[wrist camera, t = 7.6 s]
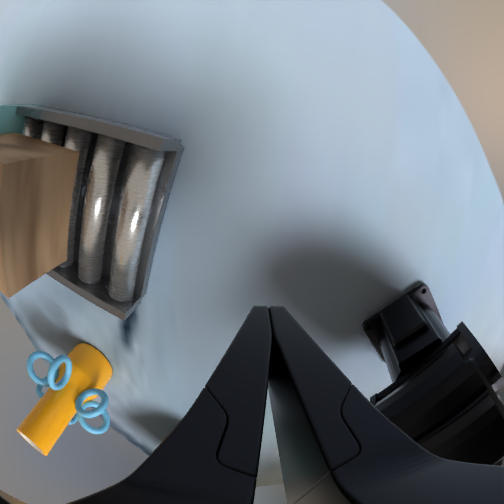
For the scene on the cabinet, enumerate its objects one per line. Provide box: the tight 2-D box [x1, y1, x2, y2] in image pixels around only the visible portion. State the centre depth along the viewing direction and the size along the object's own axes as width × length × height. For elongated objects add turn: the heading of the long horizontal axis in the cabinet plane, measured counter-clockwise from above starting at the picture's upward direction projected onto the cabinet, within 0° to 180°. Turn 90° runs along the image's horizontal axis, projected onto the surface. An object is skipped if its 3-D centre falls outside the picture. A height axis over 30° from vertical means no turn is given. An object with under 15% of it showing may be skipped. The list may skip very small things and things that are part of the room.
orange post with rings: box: [17, 343, 113, 456], centre depth 21 cm, size 12×10×15 cm
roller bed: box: [15, 106, 184, 321], centre depth 19 cm, size 17×14×4 cm
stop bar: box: [0, 105, 45, 134], centre depth 17 cm, size 2×14×8 cm, turn 159°
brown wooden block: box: [0, 132, 80, 298], centre depth 14 cm, size 10×9×7 cm
